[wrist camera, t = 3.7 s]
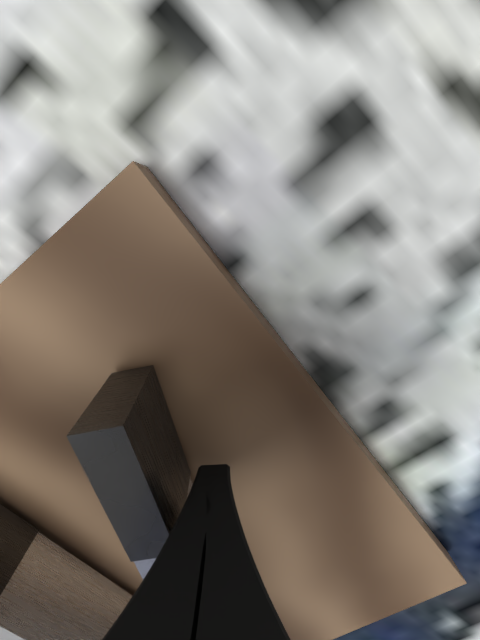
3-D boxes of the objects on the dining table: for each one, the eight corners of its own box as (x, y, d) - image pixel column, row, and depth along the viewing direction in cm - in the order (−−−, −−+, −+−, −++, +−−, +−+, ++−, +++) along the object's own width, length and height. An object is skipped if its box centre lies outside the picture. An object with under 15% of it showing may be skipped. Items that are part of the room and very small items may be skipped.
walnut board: (197, 663, 21) (194, 697, 19) (-153, 439, 14) (-197, 466, 12) (447, 551, 17) (466, 583, 16) (147, 167, 10) (132, 161, 9)
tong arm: (266, 654, 17) (273, 750, 14) (217, 661, 17) (214, 757, 14) (171, 361, 11) (146, 424, 8) (93, 376, 11) (38, 444, 8)
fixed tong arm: (189, 632, 16) (179, 724, 13) (168, 642, 17) (154, 734, 14) (-64, 459, 12) (-159, 542, 9) (-86, 478, 12) (-185, 563, 9)
